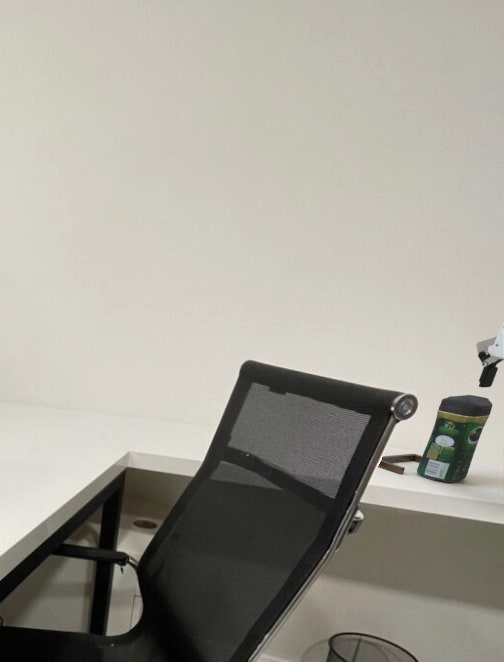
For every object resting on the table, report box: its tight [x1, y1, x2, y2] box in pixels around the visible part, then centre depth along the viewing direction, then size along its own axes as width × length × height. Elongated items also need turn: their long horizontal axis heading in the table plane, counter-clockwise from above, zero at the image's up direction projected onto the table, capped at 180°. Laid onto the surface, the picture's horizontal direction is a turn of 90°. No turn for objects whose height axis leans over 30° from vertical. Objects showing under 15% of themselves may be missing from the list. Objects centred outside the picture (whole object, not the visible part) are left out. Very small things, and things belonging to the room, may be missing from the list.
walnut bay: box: [378, 453, 423, 475], centre depth 131 cm, size 8×16×2 cm, turn 111°
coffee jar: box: [416, 394, 493, 483], centre depth 121 cm, size 10×8×19 cm
